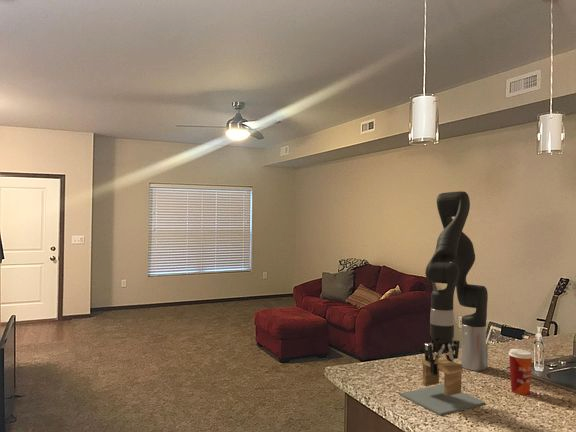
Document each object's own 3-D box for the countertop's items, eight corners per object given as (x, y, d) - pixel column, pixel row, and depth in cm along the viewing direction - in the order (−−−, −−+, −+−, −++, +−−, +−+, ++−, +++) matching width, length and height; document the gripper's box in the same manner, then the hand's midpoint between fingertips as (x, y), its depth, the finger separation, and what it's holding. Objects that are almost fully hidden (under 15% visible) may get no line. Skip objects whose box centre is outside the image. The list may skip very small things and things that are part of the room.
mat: (443, 385, 165) (443, 384, 165) (485, 404, 149) (485, 402, 149) (399, 395, 155) (399, 393, 155) (439, 415, 139) (439, 413, 139)
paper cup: (523, 397, 154) (523, 355, 154) (503, 390, 161) (503, 349, 161) (538, 393, 158) (538, 352, 158) (517, 386, 165) (518, 347, 165)
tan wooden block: (462, 393, 148) (462, 365, 148) (448, 396, 145) (449, 368, 145) (434, 381, 159) (435, 355, 159) (421, 384, 156) (421, 357, 156)
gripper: (434, 326, 146) (433, 380, 145) (466, 322, 152) (466, 373, 152) (417, 322, 152) (417, 373, 152) (449, 318, 159) (448, 367, 159)
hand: (441, 373), depth 152 cm, fingers closed on tan wooden block, 6 cm apart
